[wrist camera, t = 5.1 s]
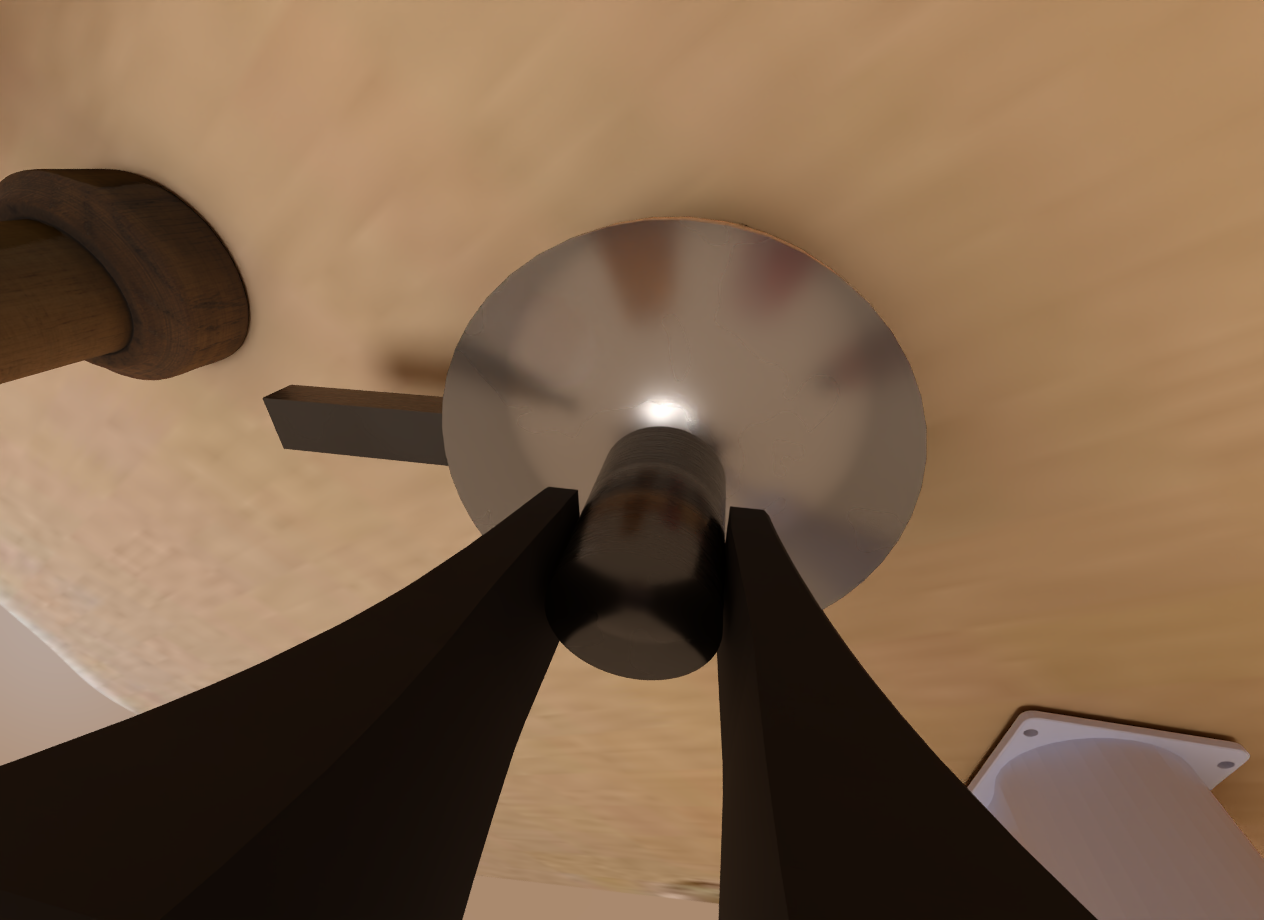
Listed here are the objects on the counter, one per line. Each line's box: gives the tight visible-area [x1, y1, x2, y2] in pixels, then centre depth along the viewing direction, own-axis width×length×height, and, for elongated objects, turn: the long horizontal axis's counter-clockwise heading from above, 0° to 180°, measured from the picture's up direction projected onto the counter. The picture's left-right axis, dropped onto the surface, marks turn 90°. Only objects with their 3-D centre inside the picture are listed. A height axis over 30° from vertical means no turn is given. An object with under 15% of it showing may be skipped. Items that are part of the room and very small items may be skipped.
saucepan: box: [263, 224, 750, 466], centre depth 14 cm, size 10×16×5 cm, turn 90°
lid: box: [442, 217, 926, 680], centre depth 10 cm, size 11×11×6 cm
